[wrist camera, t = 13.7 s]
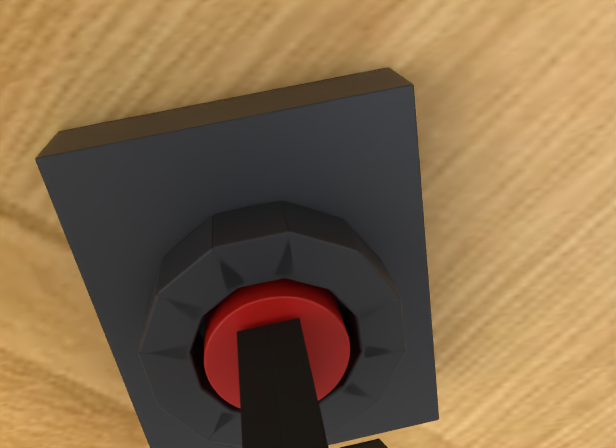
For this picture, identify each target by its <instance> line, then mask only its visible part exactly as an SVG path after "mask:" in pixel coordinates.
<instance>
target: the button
mask: <svg viewBox="0 0 616 448" xmlns="http://www.w3.org/2000/svg"><path fill="white" fill-rule="evenodd" d="M296 318H300V322H301V326H302V331H303V335H304V340H305V344H306V349H307V353H308V358H309V362H310V367H311V371H312V376H313V380H314V385H315V389H316V394H317V398H318V401H319V400H320V399H322V398H323V397H324V396H326V395H327V394H328V393H329V392H330V391H331V390H332V389H333V388H334V387H335V386H336V385H337V384H338V382H339V381H340V380H341V378H342V376H343V375H344V373H345V370H346V368H347V365H348V362H349V357H350V341H349V337H348V333H347V330H346V327H345V324H344V321H343V318H342V315H341V312H340V309H339V306H338V303H337V300H336V298H335V295H334V294H333V293H332V292H331V291H330V290H329V289H326V288H322V287H318V286H314V285H310V284H306V283H302V282H298V281H294V280H290V279H286V278H283V279H278V280H273V281H269V282H264V283H259V284H255V285H250V286H245V287H241V288H237V289H236V290H235V291H234V292H232V293H231V294H230V295H229V296H227V297H226V298H225V299H224V300H222V301H221V302H220V303H219V304H217V305H216V306H215V307H214V308H212V309H211V310H210V311H209V312H207V313H206V316H205V338H204V367H205V372H206V375H207V377H208V380H209V382H210V383H211V385H212V387H213V388H214V389H215V391H216V392H217V393H218V394H219V395H220V396H221V397H222V398H223V399H224V400H226V401H227V402H229V403H230V404H232V405H234V406H236V407H238V408H240V390H239V369H238V349H237V331H241V330H246V329H250V328H255V327H260V326H264V325H269V324H273V323H278V322H282V321H287V320H292V319H296Z"/></svg>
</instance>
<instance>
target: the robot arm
mask: <svg viewBox="0 0 616 448" xmlns="http://www.w3.org/2000/svg"><path fill="white" fill-rule="evenodd" d="M237 349H238V369H239V390H240V410H241V430H242V448H329V447H328V443H327V438H326V434H325V429H324V425H323V420H322V416H321V411H320V407H319V402H318V398H317V394H316V389H315V385H314V380H313V376H312V371H311V367H310V362H309V358H308V353H307V349H306V344H305V340H304V335H303V331H302V326H301V322H300V318H296V319H292V320H287V321H282V322H278V323H273V324H269V325H264V326H260V327H255V328H250V329H246V330H241V331H237ZM341 448H388V447H387V446H386V445H385V444H384V443H383V442H382V441H381V440H380V439H375V440H371V441H367V442H362V443H358V444H354V445H349V446H345V447H341Z"/></svg>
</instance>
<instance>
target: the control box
mask: <svg viewBox="0 0 616 448" xmlns="http://www.w3.org/2000/svg"><path fill="white" fill-rule="evenodd" d="M35 160H36V163H37V165H38V168H39V170H40V173H41V175H42V178H43V180H44V183H45V185H46V188H47V190H48V193H49V195H50V198H51V200H52V203H53V205H54V208H55V210H56V213H57V215H58V218H59V220H60V223H61V225H62V228H63V230H64V233H65V235H66V238H67V240H68V243H69V245H70V248H71V250H72V253H73V255H74V258H75V260H76V263H77V265H78V268H79V270H80V273H81V275H82V278H83V281H84V283H85V286H86V288H87V291H88V293H89V296H90V298H91V301H92V303H93V306H94V308H95V311H96V313H97V316H98V318H99V321H100V323H101V326H102V328H103V331H104V333H105V336H106V338H107V341H108V343H109V346H110V348H111V351H112V353H113V356H114V358H115V361H116V363H117V366H118V368H119V371H120V373H121V376H122V378H123V381H124V383H125V386H126V388H127V391H128V393H129V396H130V398H131V401H132V403H133V406H134V408H135V411H136V413H137V416H138V418H139V421H140V423H141V426H142V428H143V431H144V433H145V436H146V438H147V441H148V443H149V446H150V448H242V430H241V410H240V408H238V407H236V406H234V405H232V404H230V403H229V402H227V401H226V400H224V399H223V398H222V397H221V396H220V395H219V394H218V393H217V392H216V391H215V389H214V388H213V387H212V385H211V383H210V382H209V380H208V377H207V375H206V372H205V367H204V338H205V316H206V313H207V312H209V311H210V310H211V309H212V308H214V307H215V306H216V305H217V304H219V303H220V302H221V301H222V300H224V299H225V298H226V297H227V296H229V295H230V294H231V293H232V292H234V291H235V290H236V289H237V288H241V287H245V286H250V285H255V284H259V283H264V282H269V281H273V280H278V279H283V278H286V279H290V280H294V281H298V282H302V283H306V284H310V285H314V286H318V287H322V288H326V289H329V290H330V291H331V292H332V293H333V294H334V295H335V298H336V300H337V303H338V306H339V309H340V312H341V315H342V318H343V321H344V324H345V327H346V330H347V333H348V337H349V341H350V357H349V362H348V365H347V368H346V370H345V373H344V375H343V376H342V378H341V380H340V381H339V382H338V384H337V385H336V386H335V387H334V388H333V389H332V390H331V391H330V392H329V393H328V394H327V395H326V396H324V397H323V398H322V399H320V400H319V401H318V402H319V407H320V411H321V416H322V420H323V425H324V429H325V434H326V438H327V443H328V445H331V444H336V443H340V442H344V441H349V440H353V439H357V438H362V437H366V436H370V435H374V434H379V433H383V432H387V431H392V430H396V429H400V428H405V427H409V426H413V425H418V424H422V423H426V422H431V421H435V420H438V419H439V412H438V399H437V386H436V373H435V359H434V346H433V333H432V320H431V307H430V293H429V280H428V267H427V254H426V241H425V227H424V214H423V201H422V188H421V175H420V161H419V148H418V135H417V122H416V109H415V96H414V85H413V84H412V83H411V82H409V81H408V80H406V79H405V78H403V77H402V76H400V75H399V74H398V73H396V72H395V71H393V70H392V69H390V68H383V69H378V70H373V71H368V72H363V73H358V74H353V75H347V76H342V77H337V78H332V79H327V80H322V81H316V82H311V83H306V84H301V85H296V86H291V87H286V88H280V89H275V90H270V91H265V92H260V93H255V94H250V95H244V96H239V97H234V98H229V99H224V100H219V101H213V102H208V103H203V104H198V105H193V106H188V107H183V108H177V109H172V110H167V111H162V112H157V113H152V114H147V115H141V116H136V117H131V118H126V119H121V120H116V121H110V122H105V123H100V124H95V125H90V126H85V127H80V128H74V129H69V130H64V131H59V132H58V133H57V134H56V135H55V137H54V138H53V139H52V140H51V141H50V142H49V143H48V145H47V146H46V147H45V148H44V149H43V150H42V151H41V153H40V154H39V155H38V156H37V157H36V158H35Z"/></svg>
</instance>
